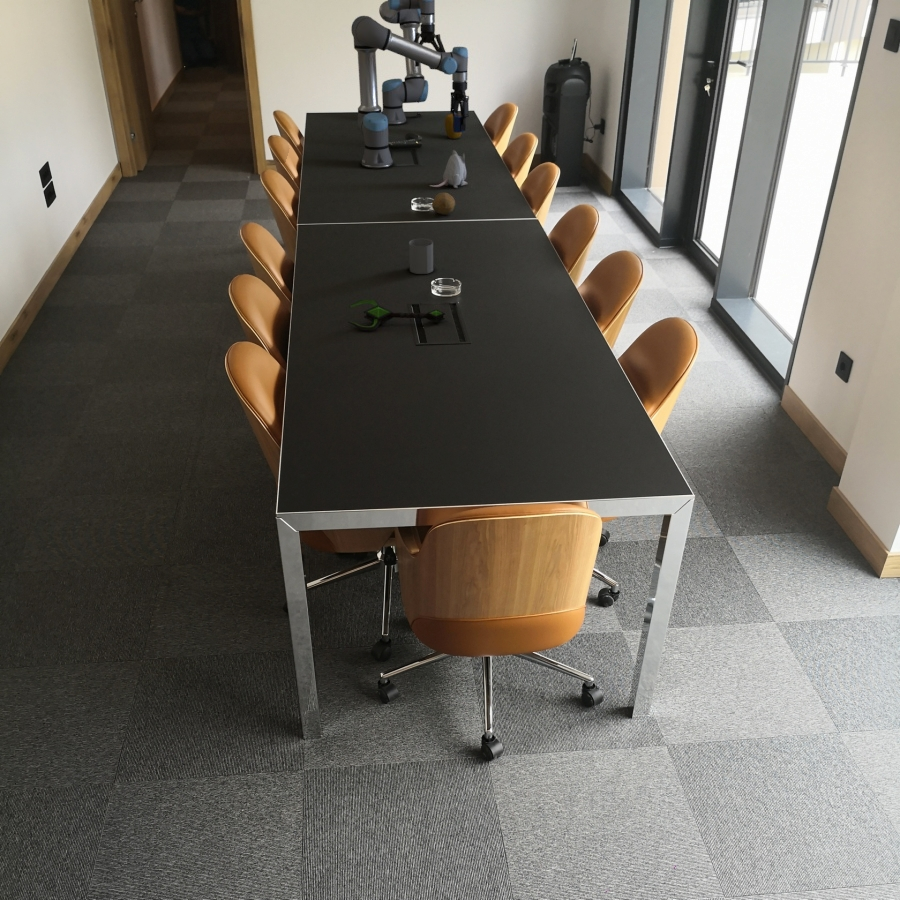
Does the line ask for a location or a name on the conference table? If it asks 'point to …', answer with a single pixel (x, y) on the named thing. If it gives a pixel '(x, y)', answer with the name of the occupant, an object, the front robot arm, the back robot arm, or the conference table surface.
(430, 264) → the cup
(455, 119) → the can
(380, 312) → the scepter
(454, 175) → the toy
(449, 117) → the yellow bell pepper
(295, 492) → the conference table surface
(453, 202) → the potato
